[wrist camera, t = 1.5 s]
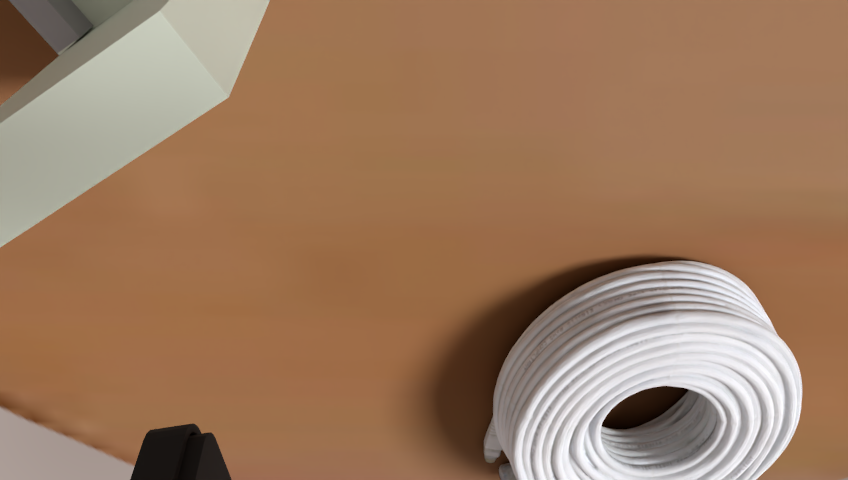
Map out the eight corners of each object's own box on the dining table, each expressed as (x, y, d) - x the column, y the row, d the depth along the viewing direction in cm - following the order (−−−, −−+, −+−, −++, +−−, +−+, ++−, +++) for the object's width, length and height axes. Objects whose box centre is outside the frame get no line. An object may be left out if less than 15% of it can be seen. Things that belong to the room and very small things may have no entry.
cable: (475, 473, 49) (490, 552, 44) (499, 251, 40) (521, 318, 35) (724, 463, 50) (767, 538, 45) (801, 248, 41) (866, 311, 36)
